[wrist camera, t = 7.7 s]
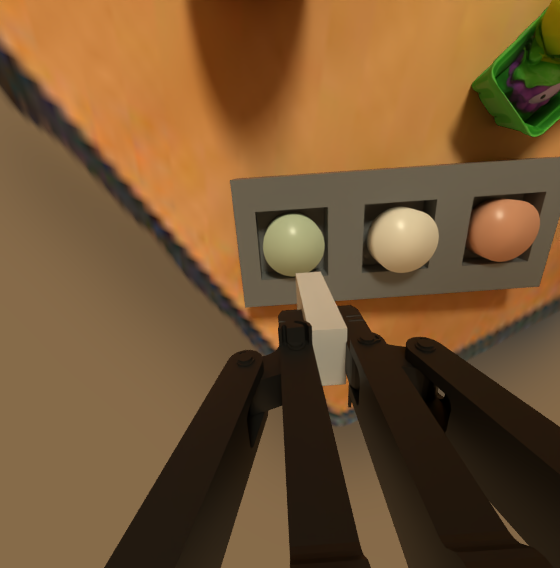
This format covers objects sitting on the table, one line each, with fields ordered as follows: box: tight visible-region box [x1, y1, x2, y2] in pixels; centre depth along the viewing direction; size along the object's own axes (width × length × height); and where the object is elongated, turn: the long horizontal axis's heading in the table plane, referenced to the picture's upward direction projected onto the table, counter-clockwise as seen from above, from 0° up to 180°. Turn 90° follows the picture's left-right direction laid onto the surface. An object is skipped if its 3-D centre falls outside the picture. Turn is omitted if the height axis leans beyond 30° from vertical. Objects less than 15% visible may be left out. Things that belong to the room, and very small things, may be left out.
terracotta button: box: [465, 198, 540, 262], centre depth 29 cm, size 6×6×2 cm
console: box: [230, 157, 560, 308], centre depth 31 cm, size 13×32×4 cm, turn 94°
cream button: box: [367, 207, 439, 273], centre depth 28 cm, size 6×6×2 cm
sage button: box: [263, 212, 325, 276], centre depth 29 cm, size 6×6×2 cm
